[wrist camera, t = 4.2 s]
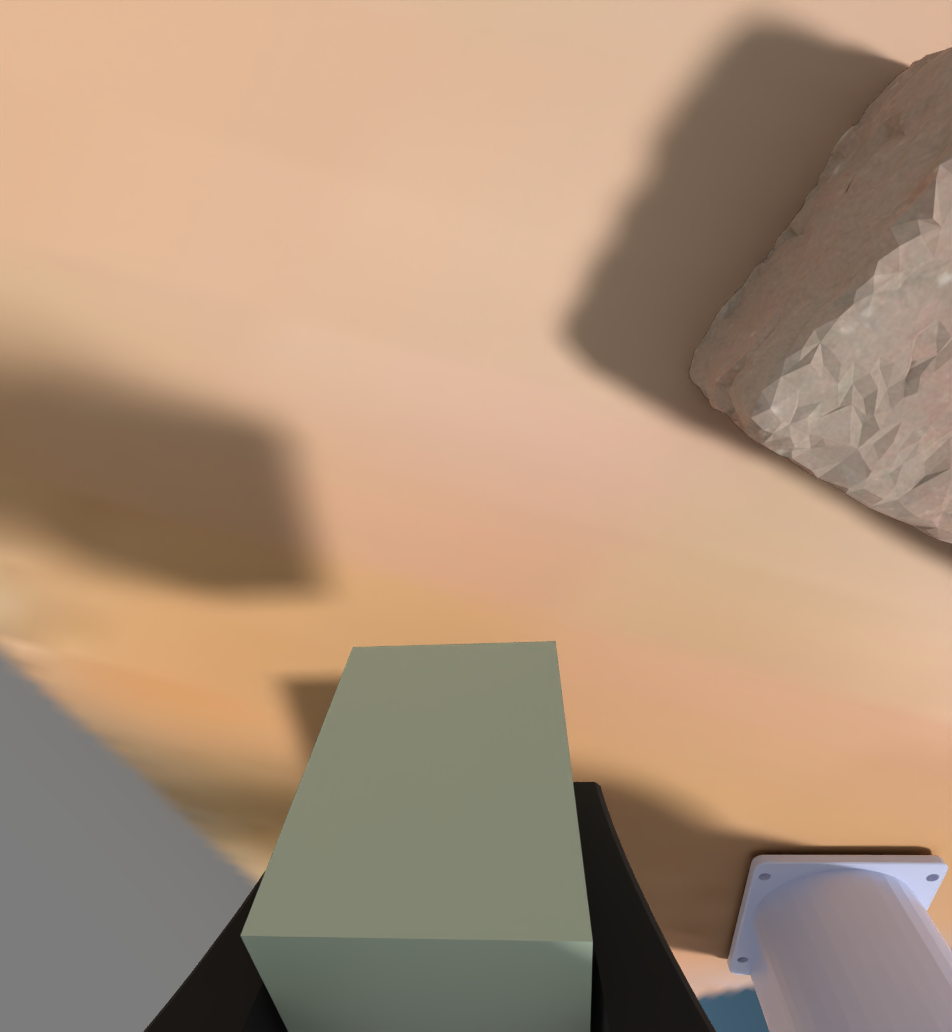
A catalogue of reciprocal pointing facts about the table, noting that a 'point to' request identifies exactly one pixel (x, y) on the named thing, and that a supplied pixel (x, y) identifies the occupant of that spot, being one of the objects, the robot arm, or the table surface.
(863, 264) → the brick
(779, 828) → the table surface
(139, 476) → the table surface
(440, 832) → the green block
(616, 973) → the robot arm
